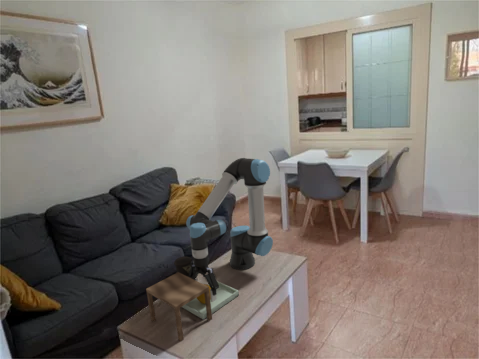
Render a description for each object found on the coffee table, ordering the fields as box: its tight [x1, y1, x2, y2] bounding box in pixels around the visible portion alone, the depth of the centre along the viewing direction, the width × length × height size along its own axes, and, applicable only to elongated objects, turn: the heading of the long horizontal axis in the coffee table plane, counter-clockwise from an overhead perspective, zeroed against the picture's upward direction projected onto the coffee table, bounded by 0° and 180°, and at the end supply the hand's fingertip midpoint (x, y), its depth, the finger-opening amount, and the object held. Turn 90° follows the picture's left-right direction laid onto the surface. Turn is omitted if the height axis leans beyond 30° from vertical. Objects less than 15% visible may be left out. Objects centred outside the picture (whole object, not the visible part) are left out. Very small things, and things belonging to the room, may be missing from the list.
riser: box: [145, 272, 213, 342], centre depth 151 cm, size 18×22×16 cm
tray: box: [181, 280, 240, 320], centre depth 165 cm, size 24×17×2 cm
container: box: [173, 256, 193, 277], centre depth 171 cm, size 9×9×20 cm
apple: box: [197, 283, 211, 304], centre depth 162 cm, size 8×8×9 cm
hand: (204, 296), depth 163 cm, fingers open, 12 cm apart
